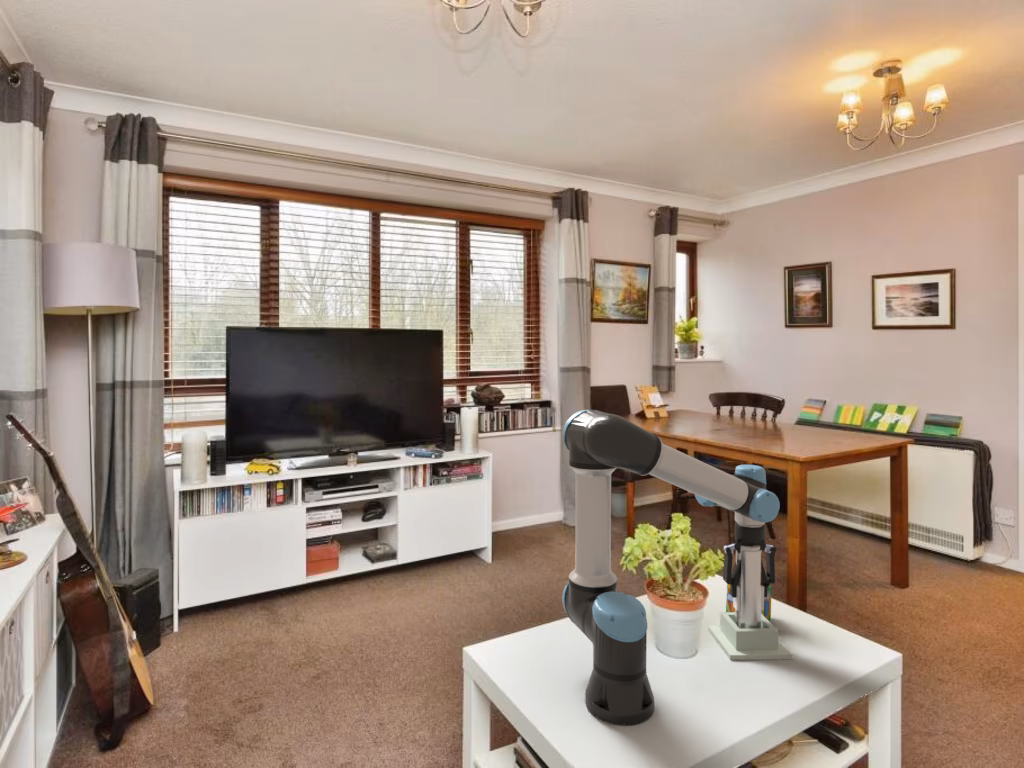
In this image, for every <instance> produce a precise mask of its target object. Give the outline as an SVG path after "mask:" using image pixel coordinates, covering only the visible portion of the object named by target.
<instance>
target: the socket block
mask: <svg viewBox="0 0 1024 768" xmlns="http://www.w3.org/2000/svg"><path fill="white" fill-rule="evenodd" d="M719 614H720V615H719V616H720V619H719V620H720V622H719V623H720V624H719V625H708V626H707V631H708V632H709V633H710V635H711V636H712V637H713V639H714V640H715V642H716V643H717V644H718V645H719V647H720V648H721V649H722V651H723V653H724V654H725V655H726V656H727V658H728V659H729V660H730V661H735V660H736V661H737V660H738V661H746V660H747V661H749V660H752V661H753V660H793V654H792V652H791V651H790V650H789V649H788V648H787V647H786V646H785V645H784V644H783V643H782V642H781V641H780V640H779V630H778V629H777V628H776V627H775V626H774V625H773V624H772V623H770V622H769V621H768V620H767V619H766V618H765V617H764V616H763V615H762V614H761V628H746V629H740V628H739V627H738V626H737V625H736V624H735V612H726V611H724V612H723V611H722V612H721V611H720V613H719Z"/></svg>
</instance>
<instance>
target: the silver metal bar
mask: <svg viewBox="0 0 1024 768" xmlns="http://www.w3.org/2000/svg"><path fill="white" fill-rule="evenodd" d="M759 549H760V546H741V552H740V554H739V553H738V551H737V550H736V549H735V562H736V564H737V563H738V560H741V575H740V579H739V582H738V585H739V586H740V611H737V610H736V609H735V624H736V625H737V626H738V627H739V628H740V629H746V628H761V596H762V563H763V552H762V549H761V550H759Z"/></svg>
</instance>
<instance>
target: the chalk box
mask: <svg viewBox="0 0 1024 768" xmlns="http://www.w3.org/2000/svg"><path fill="white" fill-rule="evenodd" d="M772 591H773V587H772V585H770V586H769V587H767V597H764V611H761V614H762V615H763V616H764V617H765V618H766V619H767V620H768V621H769V622H770V623H771V620H772V619H771V617H772V615H771V613H772ZM725 603H726V605H725V608H726V609H725V612H735V608H734V607H733V597H732V596H731V594H730V584H727V583H726V602H725ZM771 624H772V623H771Z"/></svg>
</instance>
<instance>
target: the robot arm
mask: <svg viewBox="0 0 1024 768" xmlns="http://www.w3.org/2000/svg"><path fill="white" fill-rule="evenodd" d="M562 442H563V444H564V446H565V447H566V449H567V451H568V457H569V458H568V462H569V463H568V464H569V465H568V466H569V468H570V469H571V470H572V471H573V472H574V474H575V489H574V490H575V493H574V495H575V501H574V502H575V503H574V504H575V507H574V509H575V513H574V515H575V521H574V522H575V526H574V527H575V529H574V530H575V534H574V535H575V540H574V541H575V543H574V546H575V549H574V550H575V553H574V556H575V557H574V559H575V560H574V561H575V563H574V564H575V565H574V567H575V568H574V569H573V570H572V571H571V572H570V573H569V574H568V583H567V584H565V586H564V588H563V591H562V598H561V600H562V601H561V602H562V606H563V609H564V611H565V613H566V615H567V617H568V619H569V620H570V621H571V623H573V624H574V625H575V626H576V627H577V628H578V629H579V630H580V631H581V632H582V633H583V635H584V636H586V637H587V639H588V640H589V641H590V642H591V643H592V647H593V649H592V650H593V651H592V652H593V653H592V657H593V658H592V660H593V664H592V665H593V666H592V667H593V668H592V671H591V674H590V677H589V680H588V683H587V685H586V689H585V693H584V695H585V699H584V700H585V706H586V708H587V710H588V711H589V713H590V714H591V715H593V716H594V717H596V719H598V720H599V721H600V720H601V721H602V722H605V723H607V724H610V725H615V726H625V727H626V726H635V725H640V724H642V723H644V722H646V721H648V720H649V719H650V718H651V717H652V716H653V715H654V711H655V696H654V692H653V690H652V687H651V683H650V681H649V677H648V673H647V642H648V641H647V640H648V639H647V637H648V636H647V634H648V633H647V632H648V631H647V630H648V619H647V612H646V611H647V610H646V608H645V606H644V605H643V603H642V602H641V600H639V599H638V598H636V597H635V596H633V595H632V594H631V595H630V594H626V593H624V592H622V591H621V592H620V591H618V585H617V583H618V578H617V575H616V573H614V572H613V571H612V569H611V565H612V564H611V560H612V559H611V555H612V552H611V551H612V550H611V549H612V548H611V546H612V545H611V543H612V542H611V541H612V540H611V539H612V538H611V537H612V535H611V534H612V519H611V518H612V474H613V472H615V470H617V469H622V470H625V471H627V472H628V471H629V472H630V473H631V472H632V473H633V474H636V475H638V476H647V475H650V476H652V477H654V478H657V479H659V480H661V481H664V482H667V483H669V484H671V485H673V486H675V487H678V488H679V489H682V490H684V491H687V492H689V493H692V494H694V497H695V499H696V501H697V502H698V504H699V505H701V506H702V507H711V508H712V507H715V506H716V507H721V508H723V509H725V510H727V511H731V512H734V521H735V523H734V540H733V542H732V543H731V544H729V545H727V544H724V545H722V549H723V552H724V559H723V572H722V573H723V575H722V578H723V579H722V580H723V581H724V582H725V583H726V585H727V584H730V594H731V596H732V597H733V607H734V608H735V609H736V610H737V611H740V586H739V585H738V582H739V579H740V575H741V560H738V563H737V564H736V561H735V563H734V565H733V554H734V552H735V551H736V550H737V551H738V553H739V554H740V552H741V546H760V549H759V550H761V549H762V553H763V552H765V567H764V564H763V562H762V596H761V611H764V597H767V587H769V586H771V584H773V585H774V584H775V583H776V573H775V572H776V570H775V555H776V551H777V548H776V547H775V546H774V545H773V544H771V543H769V544H767V543H766V541H765V539H766V526H765V524H766V523H770V522H772V521H773V520H775V519H776V517H777V516H778V514H779V511H780V506H781V505H780V500H779V498H778V496H777V495H776V493H774V492H772V491H769V490H768V489H767V476H766V473H767V472H766V469H765V467H762V466H760V465H755V464H740V465H737V466H735V471H734V474H730V473H727V472H726V471H724V470H721V469H719V468H716V467H715V466H713V465H710V464H709V463H706V462H704V461H701V460H699V459H697V458H695V457H693V456H691V455H689V454H686V453H684V452H682V451H680V450H677V449H675V448H673V447H671V446H668V445H667V444H664V442H662V439H661V437H659V436H658V435H655V434H653V433H652V432H650V431H648V430H646V429H645V428H643V427H641V426H639V425H637V424H635V423H634V422H632V421H630V420H628V419H627V418H624V417H622V416H620V415H617V414H614V413H608V412H604V411H601V410H598V409H583V410H579V411H576V412H575V413H573V414H572V415H571V416H570V417H569V418H568V419H567V420H566V422H565V424H564V426H563V429H562ZM765 569H766V570H765Z"/></svg>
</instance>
